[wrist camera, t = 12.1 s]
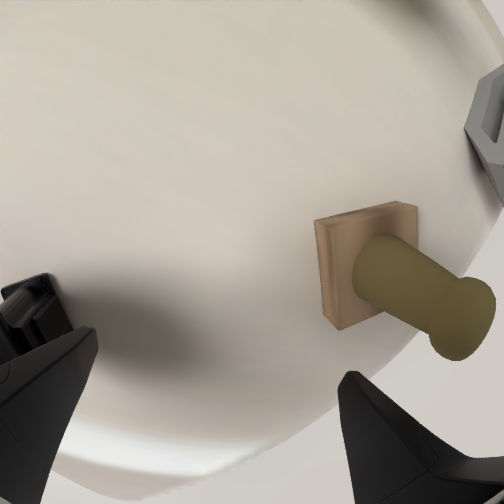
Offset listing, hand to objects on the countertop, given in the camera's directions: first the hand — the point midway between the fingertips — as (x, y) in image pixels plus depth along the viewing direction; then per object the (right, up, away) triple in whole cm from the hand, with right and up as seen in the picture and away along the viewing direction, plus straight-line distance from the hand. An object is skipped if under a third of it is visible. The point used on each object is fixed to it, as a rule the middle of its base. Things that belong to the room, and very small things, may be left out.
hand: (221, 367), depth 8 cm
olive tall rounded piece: (+12, +2, +13) cm, 17 cm away
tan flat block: (+11, +3, +15) cm, 19 cm away
